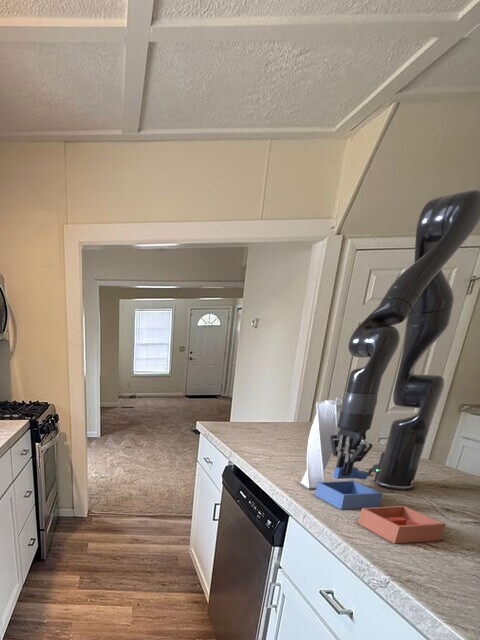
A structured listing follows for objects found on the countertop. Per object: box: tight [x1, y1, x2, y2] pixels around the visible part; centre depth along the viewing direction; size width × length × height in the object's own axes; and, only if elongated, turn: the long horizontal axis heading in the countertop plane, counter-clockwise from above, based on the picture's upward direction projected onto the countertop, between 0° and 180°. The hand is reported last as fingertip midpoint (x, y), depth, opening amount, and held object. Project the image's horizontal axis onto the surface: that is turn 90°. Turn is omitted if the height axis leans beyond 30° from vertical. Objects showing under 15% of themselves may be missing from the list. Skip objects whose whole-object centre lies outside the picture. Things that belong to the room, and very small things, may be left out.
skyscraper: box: [298, 395, 343, 490], centre depth 122 cm, size 8×8×28 cm
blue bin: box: [314, 480, 384, 510], centre depth 114 cm, size 11×11×4 cm
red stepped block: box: [385, 517, 417, 526], centre depth 95 cm, size 9×4×3 cm, turn 97°
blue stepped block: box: [332, 466, 368, 480], centre depth 111 cm, size 9×4×3 cm, turn 97°
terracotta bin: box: [357, 505, 447, 544], centre depth 95 cm, size 11×11×4 cm
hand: (342, 473), depth 111 cm, fingers closed on blue stepped block, 2 cm apart
